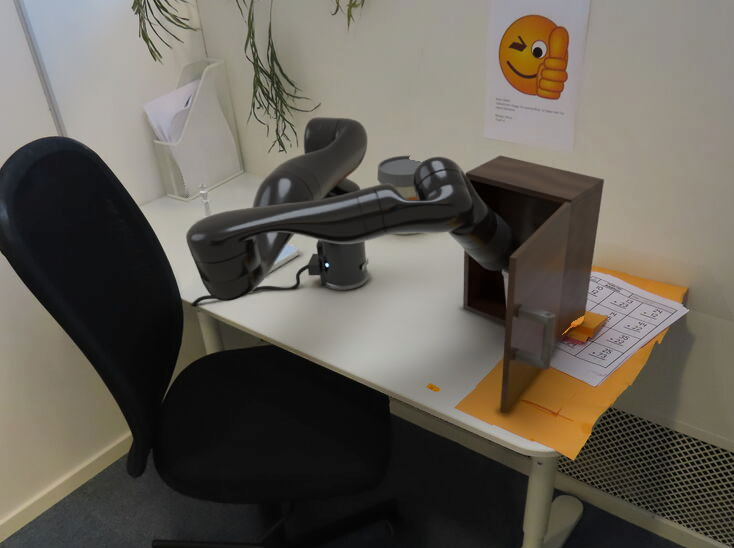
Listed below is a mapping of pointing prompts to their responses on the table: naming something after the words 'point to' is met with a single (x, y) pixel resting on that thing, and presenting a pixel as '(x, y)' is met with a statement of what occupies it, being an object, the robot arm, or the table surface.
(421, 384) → the table surface
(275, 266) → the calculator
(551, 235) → the cupboard door
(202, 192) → the chess piece
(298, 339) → the table surface
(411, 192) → the reusable coffee cup
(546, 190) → the cupboard
